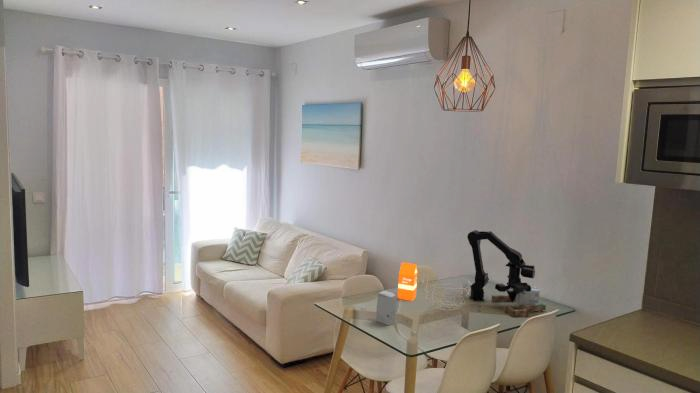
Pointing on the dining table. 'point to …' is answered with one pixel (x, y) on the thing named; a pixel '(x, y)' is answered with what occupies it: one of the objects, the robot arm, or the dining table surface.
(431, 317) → the dining table surface
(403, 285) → the orange juice
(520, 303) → the light bulb box
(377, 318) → the skincare box
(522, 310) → the corridor
